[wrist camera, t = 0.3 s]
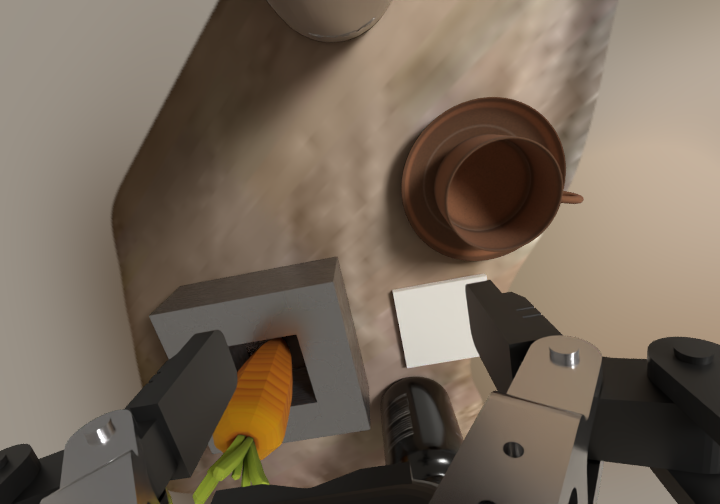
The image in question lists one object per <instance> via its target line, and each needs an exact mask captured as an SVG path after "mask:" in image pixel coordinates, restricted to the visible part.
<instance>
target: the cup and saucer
mask: <svg viewBox="0 0 720 504" xmlns="http://www.w3.org/2000/svg"><path fill="white" fill-rule="evenodd" d="M565 176H566V163H565V155H564V151H563V147H562V144H561V141H560V139H559V137H558V135H557V133H556V131H555V130H554V128H553V127H552V125H551V124H550V123H549V122H548V120H547V119H546V118H545V117H544V116H543V115H542V114H540V113H539V112H538V111H536V110H535V109H533V108H532V107H530V106H528V105H526V104H524V103H522V102H519V101H516V100H513V99H508V98H500V97H486V98H478V99H474V100H470V101H467V102H464V103H461V104H459V105H456V106H454V107H452V108H450V109H449V110H447V111H445V112H444V113H442V114H441V115H439V116H438V117H437V118H436V119H435V120H433V121H432V122H431V123H430V124H429V125H428V126H427V127H426V128H425V129H424V130H423V132H422V133H421V134H420V135H419V137H418V138H417V140H416V141H415V143H414V145H413V146H412V148H411V150H410V152H409V155H408V157H407V160H406V163H405V166H404V170H403V175H402V186H401V192H402V201H403V206H404V210H405V213H406V216H407V218H408V221H409V223H410V225H411V226H412V228H413V229H414V231H415V232H416V234H417V235H418V236H419V237H420V238H421V239H422V240H423V241H424V242H425V243H426V244H427V245H428V246H430V247H431V248H432V249H434V250H436V251H437V252H439V253H441V254H443V255H446V256H448V257H451V258H455V259H460V260H467V261H481V260H489V259H494V258H497V257H501V256H504V255H506V254H509V253H511V252H513V251H515V250H517V249H519V248H520V247H522V246H524V245H526V244H528V243H529V242H531V241H533V240H534V239H535V238H537V237H538V236H539V235H540V234H542V233H543V232H544V231H545V229H546V228H547V227H548V226H549V225H550V223H551V222H552V221H553V219H554V217H555V216H556V214H557V211H558V209H559V207H560V204H561V203H569V204H577V203H581V202H582V201H583V197H582V196H580V195H578V194H575V193H571V192H566V191H563V189H564V184H565Z"/></svg>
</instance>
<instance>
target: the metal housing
mask: <svg viewBox="0 0 720 504" xmlns="http://www.w3.org/2000/svg"><path fill="white" fill-rule="evenodd" d="M149 317H150V319H151V322H152V324H153V326H154V328H155V330H156V332H157V335H158V337H159V339H160V341H161V343H162V345H163V348H164V350H165V352H166V354H167V356H168V359H171V358H172V357H173V356H175V355H176V354H177V353H178V352H179V351H180V350H181V349H182V348H183V346H184V345H185V344H186V343H187V342H188V341H189V340H190V338H191V337H192V336H193V335H194V334H196V333H202V332H207V331H213V330H220V331H221V332H222V333H223V335H224V337H225V340H226V342H227V345H228V348H229V351H230V354H231V356H232V359H233V362H234V365H235V367H236V371H237V372H238V371H239V369H240V368H241V367H242V366H243V364H244V363H245V362H246V361H247V360H248V359H249V358H250V357H249V354H248V352H247V349H246V346H245V343H250V342H255V341H261V340H267V339H272V338H278V337H284V336H290V335H295V334H296V335H297V338H298V341H299V344H300V348H301V351H302V354H303V357H304V361H305V364H306V366H305V367H299V368H293V369H292V380H293V383H292V400H291V406H290V412H289V418H288V422H287V427H286V432H285V437H284V439H283V442H282V443H286V442H293V441H299V440H306V439H312V438H319V437H325V436H332V435H338V434H345V433H351V432H358V431H364V430H370V402H369V386H368V382H367V377H366V373H365V369H364V365H363V361H362V357H361V353H360V348H359V344H358V340H357V336H356V332H355V328H354V323H353V319H352V315H351V311H350V307H349V303H348V298H347V294H346V290H345V286H344V282H343V278H342V274H341V269H340V265H339V261H338V257H332V258H327V259H322V260H316V261H311V262H306V263H300V264H295V265H290V266H285V267H279V268H274V269H269V270H263V271H258V272H253V273H248V274H242V275H237V276H232V277H226V278H221V279H216V280H211V281H205V282H200V283H195V284H190V285H184V286H180V287H179V288H178V289H177V290H176V291H175V292H173V293H172V294H171V295H170V296H169V297H168V298H167V299H166V300H165V301H164V302H163V303H162V304H161V305H160V306H159V307H158V308H157V309H156V310H154V311H153V312H152V313H151V314H150V315H149ZM208 445H209V447H210V450H211V452H212V454H215V453H221V452H222V451H220V450H219V449H217V448H216V447H215V445H214V440H213V435H212V437H211V439H210V441H209V443H208Z"/></svg>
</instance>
